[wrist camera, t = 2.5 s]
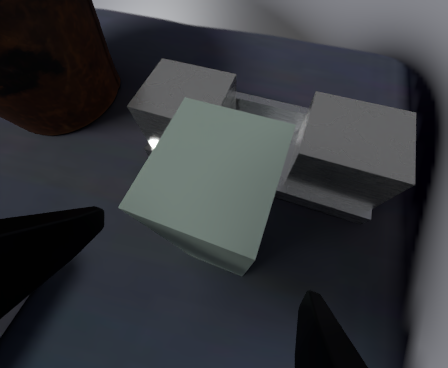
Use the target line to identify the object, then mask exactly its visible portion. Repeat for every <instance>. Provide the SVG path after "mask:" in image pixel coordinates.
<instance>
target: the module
mask: <svg viewBox="0 0 448 368" xmlns="http://www.w3.org/2000/svg"><path fill="white" fill-rule="evenodd" d="M295 126H296V125H295V124H291V123H287V122H283V121H279V120H275V119H271V118H267V117H263V116H259V115H255V114H251V113H247V112H243V111H239V110H235V109H230V108H226V107H222V106H218V105H214V104H210V103H206V102H202V101H198V100H194V99H190V98H186V97H185V98H184V100H183V101H182V103H181V105H180V106H179V108H178V110H177V111H176V113H175V115H174V116H173V118H172V120H171V121H170V123H169V124H168V126H167V128H166V129H165V131H164V133H163V134H162V136H161V138H160V139H159V141H158V143H157V144H156V146H155V148H154V149H153V151H152V153H151V154H150V156H149V158H148V159H147V161H146V162H145V164H144V166H143V167H142V169H141V171H140V172H139V174H138V176H137V177H136V179H135V181H134V182H133V184H132V186H131V187H130V189H129V191H128V192H127V194H126V195H125V197H124V199H123V200H122V202H121V204H120V205H119V207H118V208H119V209H121V210H122V211H124V212H125V213H127V214H128V215H130V216H131V217H133V218H134V219H136V220H137V221H139V222H140V223H142V224H143V225H145V226H147V227H148V228H150V229H151V230H153V231H154V232H156V233H157V234H159V235H160V236H162V237H163V238H165V239H166V240H168V241H169V242H171V243H172V244H174V245H175V246H177V247H178V248H180V249H181V250H183V251H184V252H186V253H187V254H189V255H190V256H192V257H195V258H197V259H200V260H202V261H205V262H207V263H210V264H212V265H215V266H217V267H220V268H222V269H225V270H227V271H229V272H232V273H234V274H237V275H239V276H243V275H244V274H245V272H246V271H247V270H248V269H249V267H250V266H251V265H252V264H253V262H254V261H255V259H256V256H257V253H258V249H259V246H260V243H261V239H262V236H263V233H264V229H265V226H266V223H267V219H268V216H269V213H270V209H271V206H272V203H273V199H274V196H275V193H276V189H277V186H278V183H279V179H280V176H281V173H282V169H283V166H284V163H285V159H286V156H287V153H288V149H289V146H290V143H291V139H292V136H293V133H294V129H295Z"/></svg>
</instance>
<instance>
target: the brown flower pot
mask: <svg viewBox="0 0 448 368" xmlns="http://www.w3.org/2000/svg"><path fill="white" fill-rule="evenodd" d="M119 87H120V77H119V75H118V73H117V71H116V69H115V66H114V64H113V61H112V58H111V56H110V53H109V50H108V47H107V44H106V41H105V38H104V35H103V32H102V29H101V26H100V22H99V19H98V17H97V14H96V11H95V8H94V6H93V3H92V0H0V117H2V118H4V119H6V120H8V121H10V122H12V123H14V124H15V125H17V126H19V127H21V128H24V129H25V130H27V131H30V132H33V133H35V134H41V135H48V136H50V135H60V134H65V133H69V132H72V131H75V130H78V129H80V128H82V127H85V126H86V125H88V124H90V123H91V122H93V121H94V120H96V119H97V118H99V117H100V116H101V115H102V114H103V113H104V112H105V111H106V110H107V109H108V108H109V106H110V105H111V104H112V102H113V101H114V99H115V97H116V94H117V91H118V88H119Z"/></svg>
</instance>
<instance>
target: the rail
mask: <svg viewBox="0 0 448 368" xmlns="http://www.w3.org/2000/svg"><path fill="white" fill-rule="evenodd" d="M185 97H186V98H190V99H194V100H198V101H202V102H206V103H210V104H214V105H218V106H222V107H226V108H230V109H235V110H239V111H243V112H247V113H251V114H255V115H259V116H263V117H267V118H271V119H275V120H279V121H283V122H287V123H291V124H295V125H296V126H295V129H294V133H293V136H292V139H291V143H290V146H289V149H288V153H287V156H286V159H285V163H284V166H283V169H282V173H281V176H280V179H279V183H278V186H277V189H276V193H275V196H274V197H276V198H279V199H282V200H286V201H289V202H292V203H295V204H298V205H301V206H304V207H307V208H311V209H314V210H317V211H320V212H323V213H326V214H329V215H333V216H336V217H339V218H342V219H345V220H348V221H351V222H355V223H358V224H363V223H365V222H368V221H370V220H371V215H372V209H373V208H375V207H376V206H378V205H380V204H382V203H384V202H385V201H387V200H389V199H391V198H393V197H394V196H396V195H398V194H400V193H402V192H403V191H405V190H407V189H409V188H411V187H412V186H414V185H415V158H416V113H415V112H410V111H406V110H401V109H396V108H392V107H387V106H383V105H378V104H373V103H369V102H364V101H359V100H355V99H350V98H345V97H341V96H336V95H331V94H327V93H322V92H317V91H316V92H315V95H314V97H313V99H312V102H311V104H310V107H309V108H305V107H301V106H296V105H292V104H288V103H283V102H279V101H275V100H270V99H266V98H262V97H257V96H253V95H249V94H244V93H240V92H236V74H233V73H229V72H224V71H219V70H215V69H210V68H205V67H201V66H196V65H191V64H187V63H182V62H177V61H173V60H168V59H163V58H162V59H161V60H160V62H159V63H158V65H157V66H156V67H155V69H154V70H153V71H152V73H151V74H150V75H149V77H148V78H147V79H146V81H145V82H144V84H143V85H142V86H141V88H140V89H139V90H138V92H137V93H136V94H135V96H134V97H133V98H132V100H131V101H130V103H129V104H128V105H127V108H128V109H129V111H130V112H131V114H132V116H133V117H134V119H135V121H136V122H137V124H138V126H139V127H140V129H141V131H142V132H143V134H144V136H145V137H146V139H147V140H148V143H147V145H146V147H145V148H144V150H145V151H146V153H147V154H148V156H150V154H151V153H152V151H153V149H154V148H155V146H156V144H157V143H158V141H159V139H160V138H161V136H162V134H163V133H164V131H165V129H166V128H167V126H168V124H169V123H170V121H171V120H172V118H173V116H174V115H175V113H176V111H177V110H178V108H179V106H180V105H181V103H182V101H183V100H184V98H185Z"/></svg>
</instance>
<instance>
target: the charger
mask: <svg viewBox="0 0 448 368" xmlns="http://www.w3.org/2000/svg"><path fill="white" fill-rule="evenodd" d="M27 298H28V297H26V298H25V299H24V300H23V301H22V302H20V303H19V304H18V305H17V306H16V307H14V308H13V309H12V310H11V311H10V312H8V313H7V314H6V315H5V316H4V317H2V318H1V319H0V338H1V336H2V335H3V333H4V332H5V330H6V329H7V327H8V326H9V324H10V323H11V321H12V320H13V318H14V317H15V315H16V314H17V313H18V311H19V310H20V308H21V307H22V305H23V304H24V302H25V301H26V299H27Z"/></svg>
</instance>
